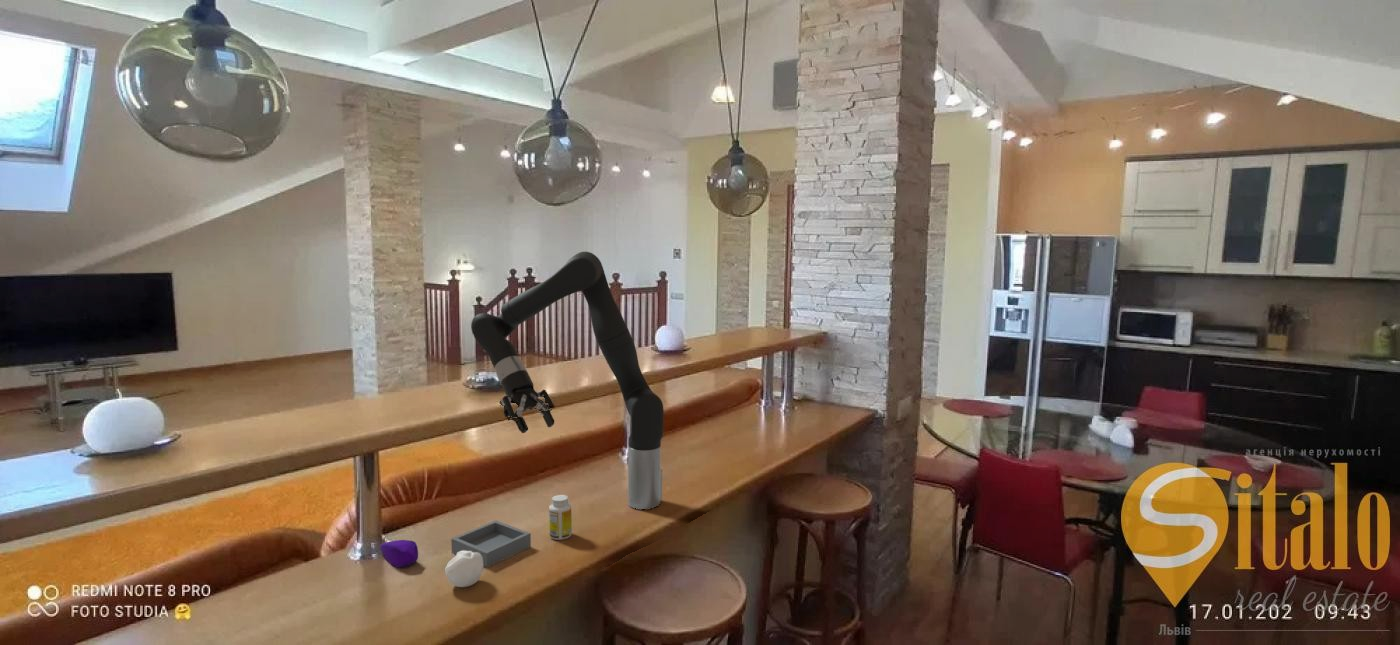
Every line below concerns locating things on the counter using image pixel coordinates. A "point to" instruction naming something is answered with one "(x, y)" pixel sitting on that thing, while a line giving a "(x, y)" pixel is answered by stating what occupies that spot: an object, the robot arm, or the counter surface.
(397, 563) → the crystal
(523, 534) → the tray
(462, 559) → the white swirled ball
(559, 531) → the supplement bottle
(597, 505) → the counter surface
